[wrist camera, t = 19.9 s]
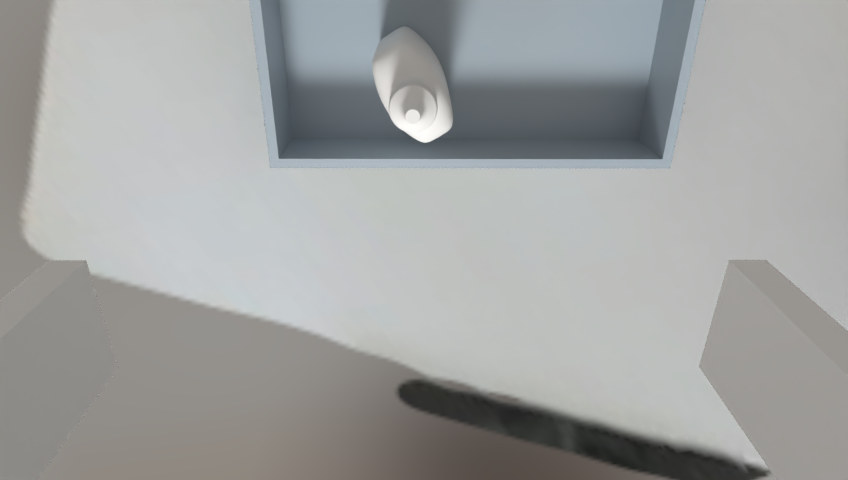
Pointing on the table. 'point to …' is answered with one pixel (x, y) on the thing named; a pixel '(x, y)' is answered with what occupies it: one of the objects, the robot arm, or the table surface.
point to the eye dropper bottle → (412, 85)
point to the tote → (480, 81)
